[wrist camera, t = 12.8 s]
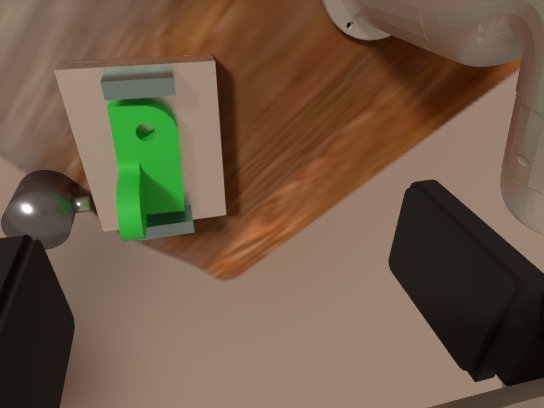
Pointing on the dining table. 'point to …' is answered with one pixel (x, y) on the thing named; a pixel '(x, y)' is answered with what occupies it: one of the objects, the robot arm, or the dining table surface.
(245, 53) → the dining table surface
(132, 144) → the mechanical part
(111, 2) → the dining table surface
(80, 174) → the dining table surface
